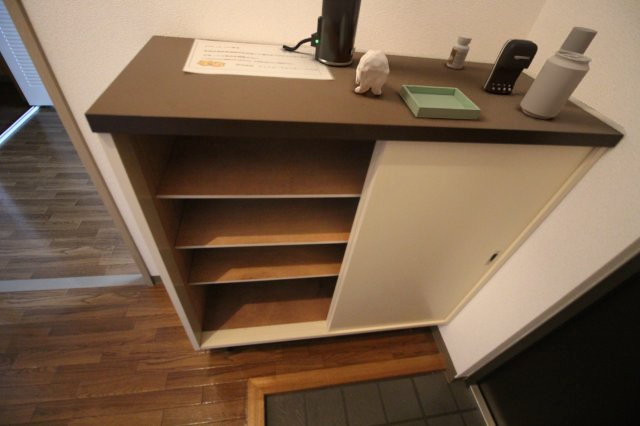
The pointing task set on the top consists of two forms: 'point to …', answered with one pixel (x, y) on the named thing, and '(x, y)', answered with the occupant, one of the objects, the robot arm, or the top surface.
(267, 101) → the top surface
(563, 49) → the container
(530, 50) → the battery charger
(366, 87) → the white bear figurine
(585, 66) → the can
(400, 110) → the top surface
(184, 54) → the top surface
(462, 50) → the pill bottle
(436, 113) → the tray
